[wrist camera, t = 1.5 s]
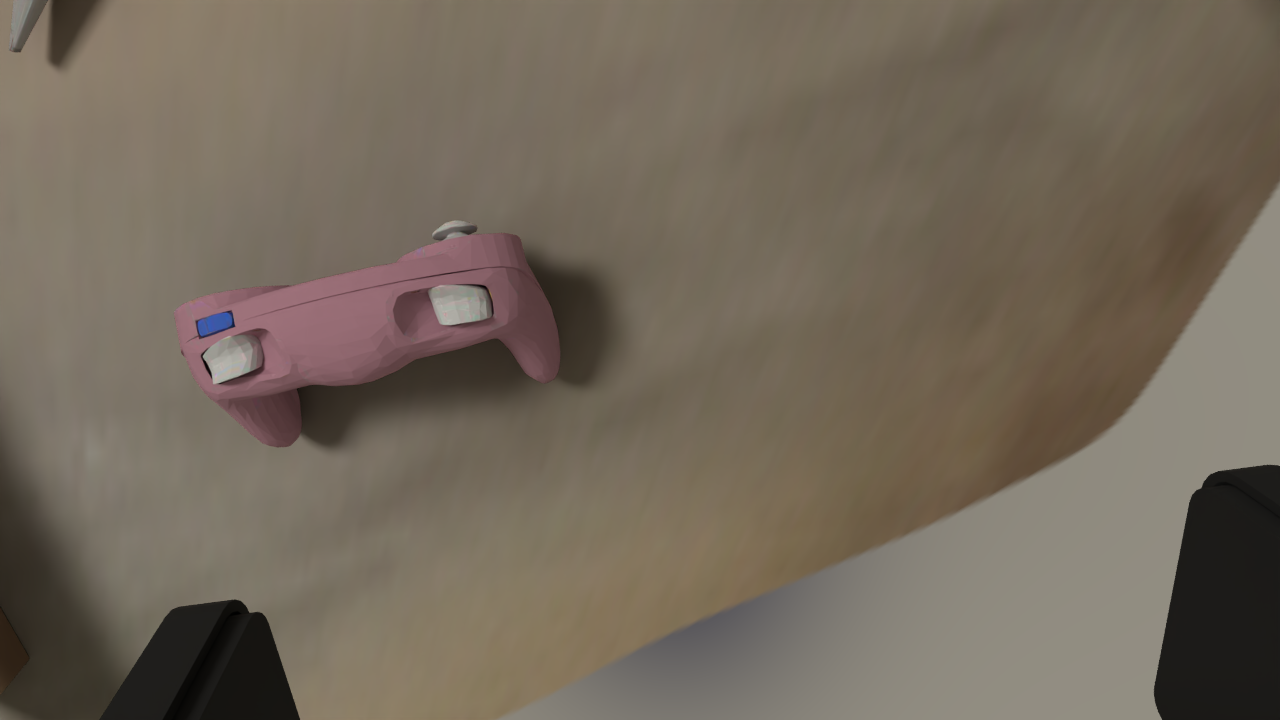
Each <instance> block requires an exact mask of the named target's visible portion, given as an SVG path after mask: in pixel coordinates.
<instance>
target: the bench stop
mask: <svg viewBox="0 0 1280 720" xmlns="http://www.w3.org/2000/svg"><path fill="white" fill-rule="evenodd" d="M29 659H30V658H29V657H28V655H27V653H26V651H25V650H24V648H23V646H22V644H21V643H20V641H19V639H18V637H17V636H16V634H15V632H14V631H13V629H12V627H11V625H10V624H9V622H8V620H7V618H6V617H5V615H4V613H3V611H2V610H1V608H0V695H1V694H2V692H3V691H4V690H5V689H6V687H7V686H8V685H9V684H10V682H11V681H12V680H13V679H14V677H15V676H16V675H17V674H18V673H19V671H20V670H21V669H22V668H23V666H24V665H25V664H26V663H27V661H28V660H29Z"/></svg>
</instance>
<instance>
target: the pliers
mask: <svg viewBox="0 0 1280 720" xmlns="http://www.w3.org/2000/svg"><path fill="white" fill-rule="evenodd" d="M47 1H48V0H14V3H13V14H12V24H11V34H10V44H9V51H12V52H21V50H22V48H23V46H24V44H25V42H26V41H27V39H28V37H29V35H30V33H31V31H32V29H33V27H34V26H35V24H36V22H37V20H38V18H39V16H40V14H41V12H42V11H43V9H44V7H45V5H46V3H47Z"/></svg>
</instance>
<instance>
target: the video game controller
mask: <svg viewBox="0 0 1280 720" xmlns="http://www.w3.org/2000/svg"><path fill="white" fill-rule="evenodd" d="M476 231H477V225H475V224H473V223H470V222H464V221H457V220H456V221H451V222H447V223H445V224H443V225H442V226H441V227H439V228H438V229H437V230H436V231H435V232H433V234H432V237H433V238H434V239H436V240H442V241H440V242H437V243H434V244H430V245H427V246H424V247H421V248H419V249H416V250H414V251H412V252H410V253H407V254H406V255H404V256H403V257H401V258H399V260H398V261H397V263H391V264H386V265H380V266H374V267H369V268H365V269H360V270H356V271H351V272H347V273H342V274H338V275H333V276H329V277H324V278H320V279H317V280H313V281H309V282H305V283H301V284H297V285H293V286H289V285H286V286H265V287H252V288H245V289H238V290H231V291H225V292H219V293H214V294H210V295H207V296H203V297H200V298H196V299H194V300H192V301H189V302H187V303H184V304H182V305H181V306H180V307H178V308H177V309H176V310H175V312H174V315H175V321H176V326H177V331H178V337H179V342H180V348H181V353H182V355H183V356H184V357H185V358H186V360H187V363H188V365H189V368H190V370H191V373H192V375H193V377H194V379H195V380H196V382H197V383H198V385H199V386H200V388H201V389H202V390H203V391H204V392H205V394H206V395H207V396H208V397H209V398H211V399H212V400H213V401H214V402H215V403H217V404H218V405H219V406H220V407H222V408H223V409H224V410H225V411H226V412H227V413H229V414H230V415H231V416H232V417H233V418H234V419H235V420H236V421H237V422H238V423H239V424H241V425H242V426H243V427H244V428H245V429H246V430H247V431H248V432H249V433H250V434H251V435H253V436H254V437H255V438H257V439H258V440H259V441H261V442H262V443H264V444H266V445H269V446H274V447H288V446H290V445H292V444H293V443H294V442H295V441H296V440H297V438H298V437H299V435H300V433H301V428H302V418H301V407H300V400H299V396H298V392H297V389H296V388H300V387H304V386H308V385H327V386H345V385H358V384H363V383H367V382H372V381H375V380H377V379H379V378H382V377H384V376H386V375H389V374H391V373H393V372H396V371H397V370H399V369H401V368H402V367H404V366H406V365H407V364H409V363H410V362H412V361H414V360H415V359H419V358H423V357H428V356H432V355H436V354H440V353H445V352H449V351H453V350H457V349H461V348H465V347H468V346H471V345H474V344H477V343H481V342H484V341H487V340H490V339H494V338H496V339H499V340H500V341H502V342H503V343H504V344H505V345H506V347H507V348H508V349H509V350H510V351H511V353H512V354H513V356H514V357H515V359H516V360H517V362H518V363H519V365H520V366H521V368H522V369H523V371H524V372H525V373H526V374H527V375H528V376H530V377H532V378H534V379H535V380H537V381H539V382H541V383H548V382H550V381H552V380H553V379H554V378H555V377H556V375H557V374H558V371H559V367H560V344H559V334H558V328H557V325H556V322H555V319H554V316H553V312H552V308H551V306H550V304H549V302H548V300H547V299H546V297H545V294H544V292H543V290H542V288H541V286H540V285H539V283H538V281H537V279H536V278H535V276H534V274H533V272H532V271H531V269H530V267H529V265H528V263H527V262H526V258H525V254H524V250H523V246H522V242H521V239H520V238H519V237H518V236H516V235H512V234H507V233H494V234H476V235H470V234H472V233H474V232H476Z"/></svg>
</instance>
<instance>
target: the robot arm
mask: <svg viewBox="0 0 1280 720" xmlns="http://www.w3.org/2000/svg"><path fill="white" fill-rule="evenodd" d="M1154 697H1155V703H1156V706H1157V709H1158V712H1159V714H1160V716H1161V718H1162V720H1280V466H1278V465H1263V466H1256V467H1248V468H1240V469H1232V470H1225V471H1218V472H1215V473H1213V474H1211V475H1209V476H1208V478H1207V479H1206V480H1205V481H1204V483H1203V486H1202V488H1201V489H1199V490H1196V491H1195V493H1194V494H1193V495H1192V497H1191V500H1190V502H1189V508H1188V513H1187V518H1186V523H1185V529H1184V534H1183V539H1182V544H1181V549H1180V555H1179V560H1178V565H1177V571H1176V576H1175V581H1174V587H1173V592H1172V597H1171V602H1170V607H1169V613H1168V618H1167V623H1166V628H1165V634H1164V639H1163V644H1162V649H1161V655H1160V660H1159V665H1158V670H1157V676H1156V681H1155V686H1154ZM100 720H300V718H299V715H298V712H297V709H296V706H295V702H294V699H293V696H292V693H291V690H290V687H289V684H288V681H287V678H286V675H285V672H284V669H283V666H282V663H281V660H280V657H279V654H278V651H277V648H276V644H275V641H274V638H273V635H272V632H271V629H270V626H269V623H268V621H267V619H266V617H265V616H264V615H263V614H262V613H260V612H254V613H249V611H248V609H247V607H246V606H245V605H244V604H243V603H242V602H241V601H239V600H227V601H220V602H212V603H204V604H197V605H189V606H181V607H177V608H175V609H173V610H171V611H170V612H169V614H168V615H167V616H166V617H165V618H164V620H163V622H162V623H161V625H160V626H159V628H158V629H157V631H156V632H155V634H154V636H153V637H152V639H151V640H150V642H149V643H148V645H147V646H146V648H145V650H144V651H143V653H142V654H141V656H140V657H139V659H138V660H137V662H136V664H135V665H134V667H133V668H132V670H131V671H130V673H129V675H128V676H127V678H126V679H125V681H124V682H123V684H122V685H121V687H120V689H119V690H118V692H117V693H116V695H115V696H114V698H113V699H112V701H111V703H110V704H109V706H108V707H107V709H106V710H105V712H104V713H103V715H102V717H101V718H100Z"/></svg>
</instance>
